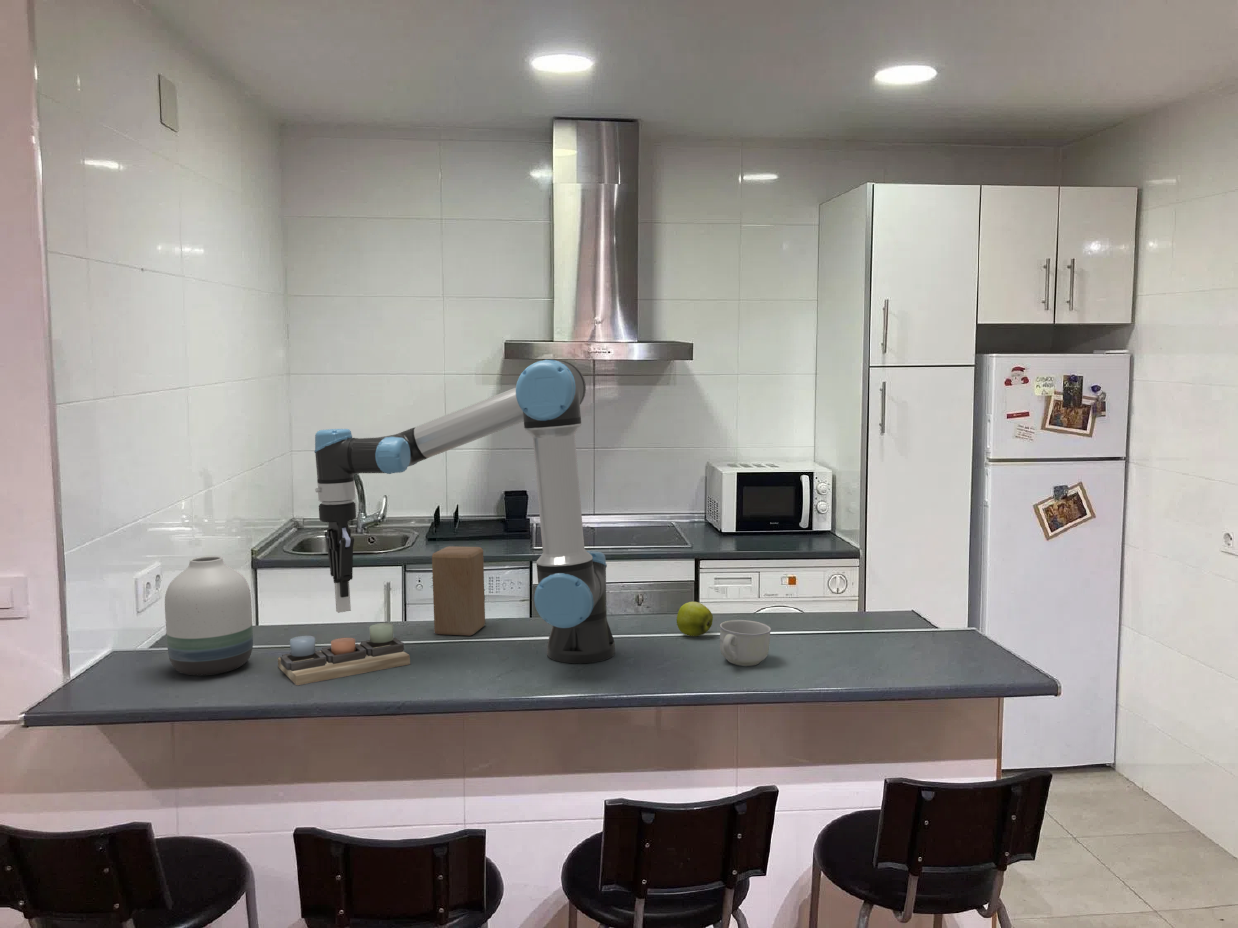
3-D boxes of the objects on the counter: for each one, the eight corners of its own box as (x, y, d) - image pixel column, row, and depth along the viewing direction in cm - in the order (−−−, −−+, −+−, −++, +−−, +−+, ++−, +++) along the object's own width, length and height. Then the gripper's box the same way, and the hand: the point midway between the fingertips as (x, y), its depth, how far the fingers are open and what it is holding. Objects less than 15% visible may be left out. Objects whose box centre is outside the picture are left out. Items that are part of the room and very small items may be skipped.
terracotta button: (358, 655, 205) (358, 641, 205) (335, 659, 203) (334, 645, 202) (351, 649, 210) (350, 636, 209) (328, 653, 207) (328, 640, 207)
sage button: (396, 640, 210) (396, 626, 210) (374, 644, 207) (373, 630, 207) (388, 635, 214) (388, 622, 214) (366, 638, 211) (366, 625, 211)
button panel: (412, 663, 207) (411, 648, 206) (294, 685, 193) (293, 668, 193) (388, 647, 219) (387, 632, 219) (275, 667, 206) (274, 651, 205)
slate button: (318, 653, 201) (317, 639, 200) (294, 657, 198) (293, 643, 198) (311, 648, 205) (311, 634, 204) (287, 652, 202) (287, 638, 202)
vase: (150, 676, 201) (143, 563, 198) (211, 654, 216) (205, 549, 214) (212, 685, 195) (206, 568, 192) (271, 661, 210) (266, 553, 208)
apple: (685, 629, 231) (685, 596, 231) (718, 634, 226) (718, 601, 225) (668, 636, 225) (667, 603, 224) (701, 642, 220) (701, 608, 219)
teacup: (740, 651, 212) (740, 616, 212) (781, 661, 205) (781, 624, 204) (699, 665, 203) (699, 628, 202) (740, 676, 195) (740, 638, 194)
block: (472, 636, 227) (470, 553, 225) (433, 635, 229) (430, 552, 227) (486, 625, 237) (484, 546, 235) (448, 624, 239) (446, 545, 237)
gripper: (310, 500, 206) (317, 608, 209) (328, 506, 195) (335, 619, 198) (345, 497, 210) (351, 602, 213) (364, 503, 199) (370, 614, 202)
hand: (343, 610), depth 205 cm, fingers closed
